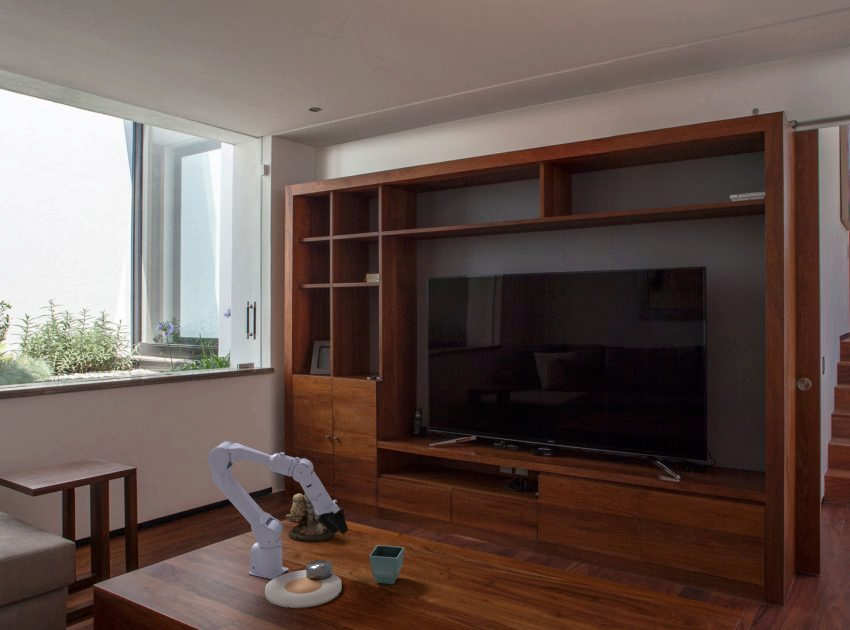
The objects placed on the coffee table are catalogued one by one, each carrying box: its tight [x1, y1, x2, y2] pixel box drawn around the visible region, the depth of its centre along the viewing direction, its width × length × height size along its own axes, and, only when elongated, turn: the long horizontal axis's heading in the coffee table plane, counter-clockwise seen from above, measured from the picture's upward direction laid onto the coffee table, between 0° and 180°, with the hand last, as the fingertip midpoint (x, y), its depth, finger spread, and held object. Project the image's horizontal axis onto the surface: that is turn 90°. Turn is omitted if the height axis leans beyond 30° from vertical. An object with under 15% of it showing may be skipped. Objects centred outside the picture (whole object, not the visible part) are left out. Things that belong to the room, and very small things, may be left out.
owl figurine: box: [285, 492, 335, 543], centre depth 239 cm, size 18×12×17 cm, turn 78°
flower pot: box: [369, 544, 405, 585], centre depth 200 cm, size 9×9×9 cm
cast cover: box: [305, 559, 334, 581], centre depth 201 cm, size 8×8×3 cm
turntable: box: [264, 569, 343, 609], centre depth 194 cm, size 22×22×2 cm
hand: (340, 532), depth 206 cm, fingers open, 7 cm apart
